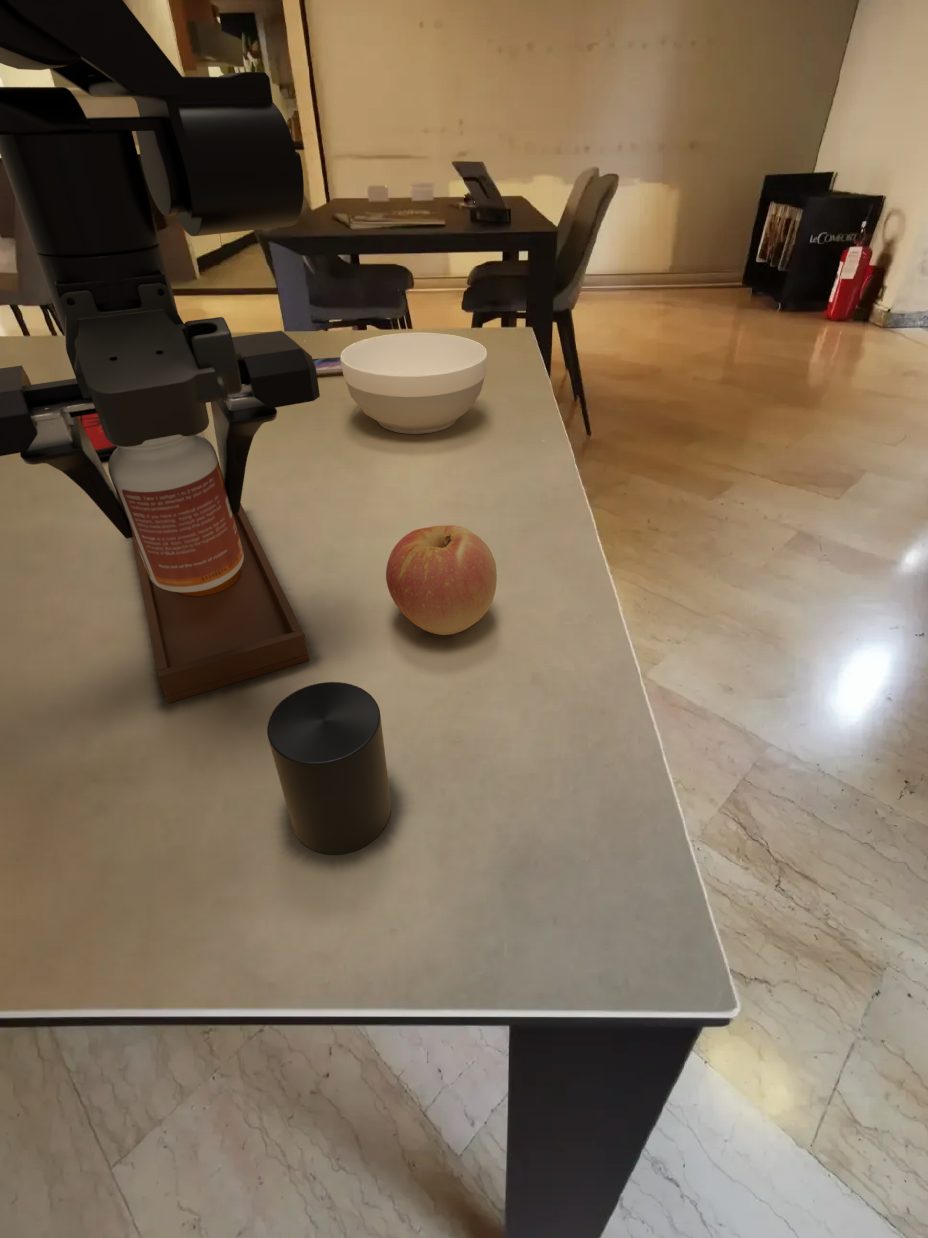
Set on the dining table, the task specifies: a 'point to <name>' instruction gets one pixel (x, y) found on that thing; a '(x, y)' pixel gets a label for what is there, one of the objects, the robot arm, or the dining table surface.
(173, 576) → the pill bottle
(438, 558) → the apple
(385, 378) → the bowl
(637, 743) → the dining table surface
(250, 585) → the walnut tray
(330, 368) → the smartphone
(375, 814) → the charcoal tin
